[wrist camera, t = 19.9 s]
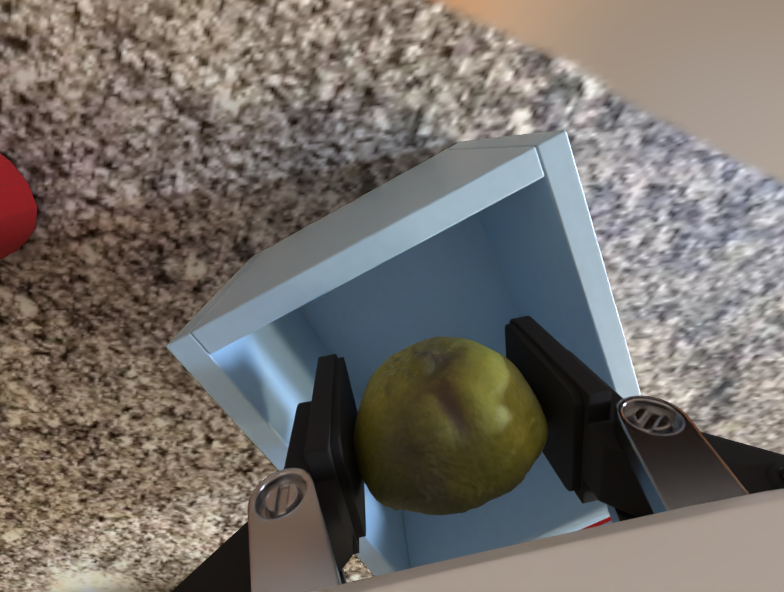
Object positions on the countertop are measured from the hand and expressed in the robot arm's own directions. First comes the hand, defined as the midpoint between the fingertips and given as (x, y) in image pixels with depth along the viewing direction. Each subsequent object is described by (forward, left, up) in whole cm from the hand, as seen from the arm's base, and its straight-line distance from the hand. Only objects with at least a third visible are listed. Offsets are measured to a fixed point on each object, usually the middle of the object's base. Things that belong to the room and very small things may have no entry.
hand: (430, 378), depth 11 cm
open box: (+3, +1, -10) cm, 11 cm away
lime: (0, 0, -1) cm, 1 cm away
